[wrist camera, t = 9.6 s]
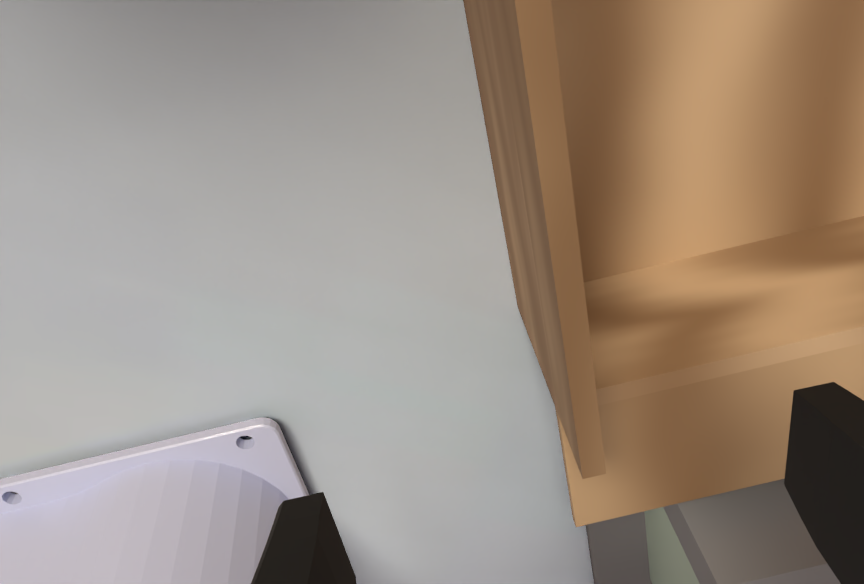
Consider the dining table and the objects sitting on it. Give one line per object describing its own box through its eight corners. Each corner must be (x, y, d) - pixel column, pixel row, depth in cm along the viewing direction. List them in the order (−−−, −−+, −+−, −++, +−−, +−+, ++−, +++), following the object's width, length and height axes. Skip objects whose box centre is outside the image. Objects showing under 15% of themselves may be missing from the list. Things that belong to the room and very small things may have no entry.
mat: (596, 597, 29) (599, 606, 29) (571, 427, 24) (575, 435, 24) (829, 543, 29) (835, 552, 29) (852, 361, 24) (859, 368, 24)
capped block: (650, 578, 28) (720, 748, 23) (636, 422, 24) (719, 588, 19) (783, 547, 28) (883, 710, 23) (794, 384, 24) (920, 541, 19)
